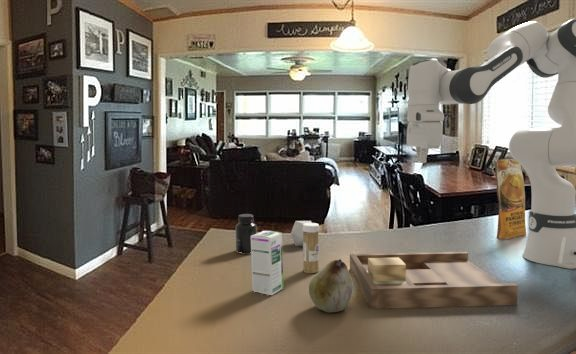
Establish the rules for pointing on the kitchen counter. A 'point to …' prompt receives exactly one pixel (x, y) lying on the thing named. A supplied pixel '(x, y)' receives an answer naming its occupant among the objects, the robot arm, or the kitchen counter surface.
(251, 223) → the supplement bottle
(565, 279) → the kitchen counter surface
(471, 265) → the box
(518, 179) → the pancake mix bag
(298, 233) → the die
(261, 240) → the syrup box
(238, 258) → the kitchen counter surface
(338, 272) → the fruit
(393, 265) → the maple block
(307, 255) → the sprinkles bottle
